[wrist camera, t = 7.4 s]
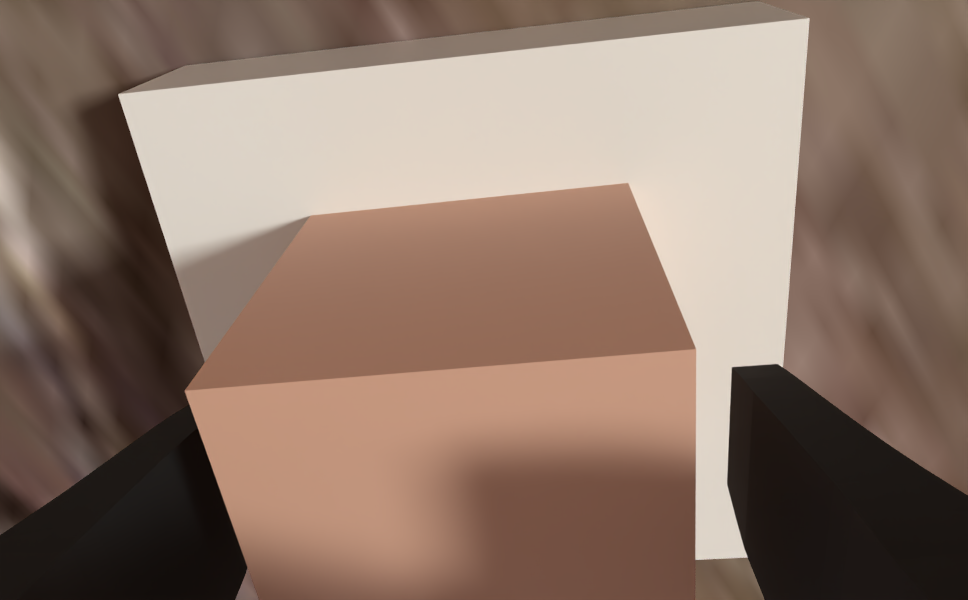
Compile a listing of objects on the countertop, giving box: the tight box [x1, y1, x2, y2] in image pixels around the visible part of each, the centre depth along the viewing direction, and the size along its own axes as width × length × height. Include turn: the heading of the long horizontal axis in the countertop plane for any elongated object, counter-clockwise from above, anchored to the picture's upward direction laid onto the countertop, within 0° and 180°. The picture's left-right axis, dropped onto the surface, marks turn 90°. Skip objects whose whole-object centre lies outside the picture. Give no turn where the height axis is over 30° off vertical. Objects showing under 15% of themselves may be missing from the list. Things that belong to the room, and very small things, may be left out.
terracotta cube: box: [185, 183, 696, 600], centre depth 11 cm, size 5×5×5 cm
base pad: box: [118, 1, 809, 560], centre depth 14 cm, size 10×10×2 cm
